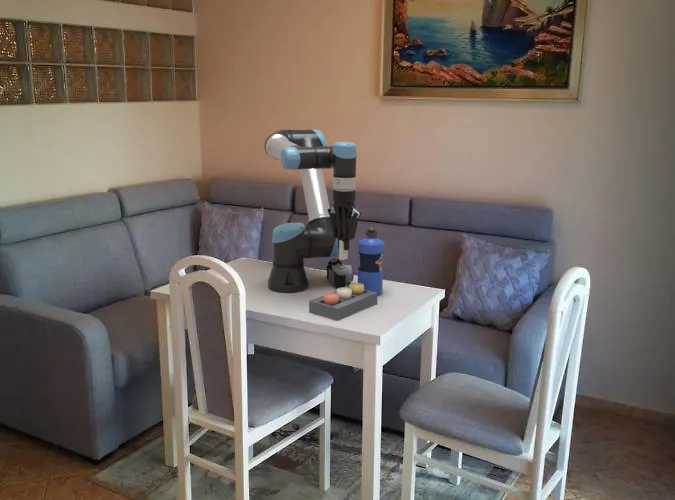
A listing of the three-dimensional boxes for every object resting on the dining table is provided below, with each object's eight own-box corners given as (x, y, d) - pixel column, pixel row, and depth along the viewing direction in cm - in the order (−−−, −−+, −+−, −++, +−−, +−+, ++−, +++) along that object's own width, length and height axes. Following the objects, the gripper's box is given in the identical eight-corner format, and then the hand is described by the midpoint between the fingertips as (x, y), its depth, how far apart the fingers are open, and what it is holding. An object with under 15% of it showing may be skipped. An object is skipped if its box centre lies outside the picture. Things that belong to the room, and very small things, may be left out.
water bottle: (353, 295, 240) (355, 227, 234) (360, 287, 249) (362, 222, 242) (379, 298, 237) (381, 229, 231) (385, 290, 246) (387, 224, 240)
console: (309, 312, 222) (309, 300, 221) (349, 296, 239) (349, 285, 238) (337, 320, 215) (337, 308, 214) (377, 303, 231) (377, 292, 230)
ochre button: (346, 294, 231) (346, 285, 230) (355, 290, 235) (355, 281, 234) (358, 297, 228) (358, 288, 227) (366, 293, 232) (367, 284, 231)
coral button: (320, 304, 220) (320, 294, 219) (329, 300, 224) (330, 291, 223) (332, 307, 217) (332, 298, 216) (341, 303, 221) (341, 294, 220)
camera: (358, 290, 246) (358, 264, 244) (334, 291, 244) (334, 265, 241) (346, 278, 261) (346, 253, 258) (323, 279, 258) (324, 254, 256)
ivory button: (333, 298, 225) (333, 289, 225) (342, 295, 229) (343, 286, 228) (345, 302, 222) (345, 292, 222) (354, 298, 226) (354, 289, 225)
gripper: (322, 188, 223) (321, 257, 228) (352, 192, 215) (351, 264, 220) (336, 186, 229) (335, 253, 234) (366, 190, 220) (365, 260, 226)
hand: (343, 258), depth 227 cm, fingers closed
